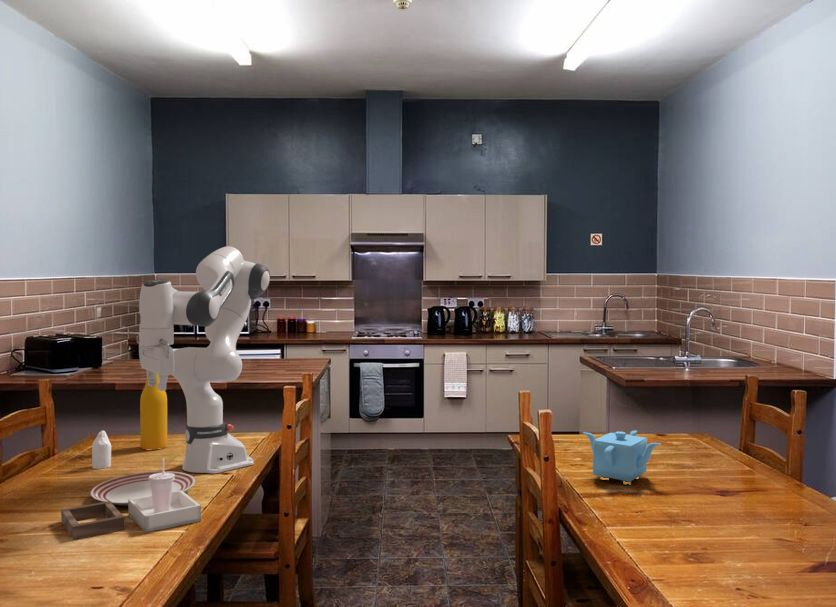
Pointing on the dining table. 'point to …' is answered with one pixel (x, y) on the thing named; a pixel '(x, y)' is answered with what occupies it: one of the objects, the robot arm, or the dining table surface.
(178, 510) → the tray
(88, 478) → the dining table surface
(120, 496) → the dinner plate
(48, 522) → the dining table surface
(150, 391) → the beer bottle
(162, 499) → the smoothie
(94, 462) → the white tapered bottle
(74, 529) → the socket block
